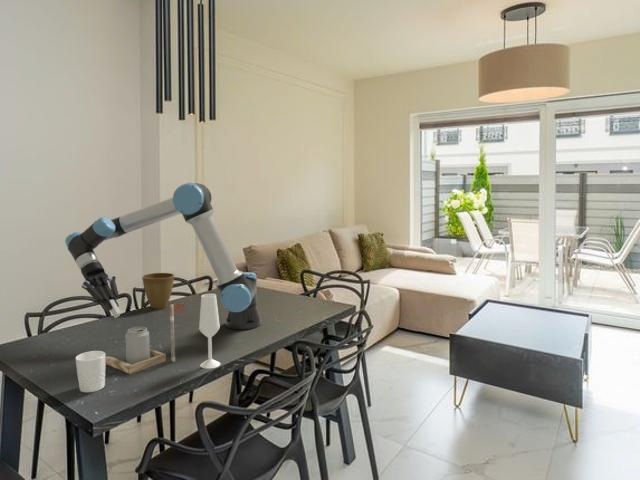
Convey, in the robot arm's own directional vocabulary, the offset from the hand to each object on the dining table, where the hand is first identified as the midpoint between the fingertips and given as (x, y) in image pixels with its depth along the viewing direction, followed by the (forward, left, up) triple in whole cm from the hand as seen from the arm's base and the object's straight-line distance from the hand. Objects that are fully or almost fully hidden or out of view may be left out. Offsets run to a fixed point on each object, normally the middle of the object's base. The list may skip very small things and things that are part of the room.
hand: (118, 315), depth 167 cm
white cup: (-13, +33, -12) cm, 37 cm away
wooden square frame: (-14, +11, -12) cm, 21 cm away
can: (-16, +13, -12) cm, 24 cm away
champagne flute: (-40, +10, -12) cm, 43 cm away
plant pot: (+14, -52, -12) cm, 56 cm away
